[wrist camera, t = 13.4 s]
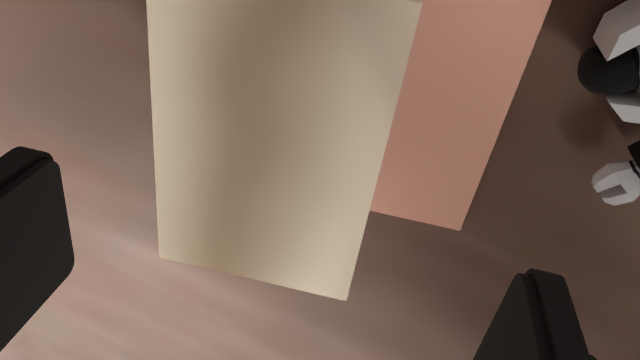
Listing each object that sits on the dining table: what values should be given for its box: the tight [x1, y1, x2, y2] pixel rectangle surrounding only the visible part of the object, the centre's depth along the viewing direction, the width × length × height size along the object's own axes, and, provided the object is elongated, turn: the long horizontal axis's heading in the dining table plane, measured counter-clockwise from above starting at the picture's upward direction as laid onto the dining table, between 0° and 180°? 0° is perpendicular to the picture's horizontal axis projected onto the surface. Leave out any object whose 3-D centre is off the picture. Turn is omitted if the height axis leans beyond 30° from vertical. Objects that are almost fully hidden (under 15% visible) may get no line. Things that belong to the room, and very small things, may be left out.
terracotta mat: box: [370, 0, 552, 231], centre depth 20 cm, size 14×14×1 cm
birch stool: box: [146, 0, 423, 301], centre depth 16 cm, size 6×9×8 cm, turn 172°
